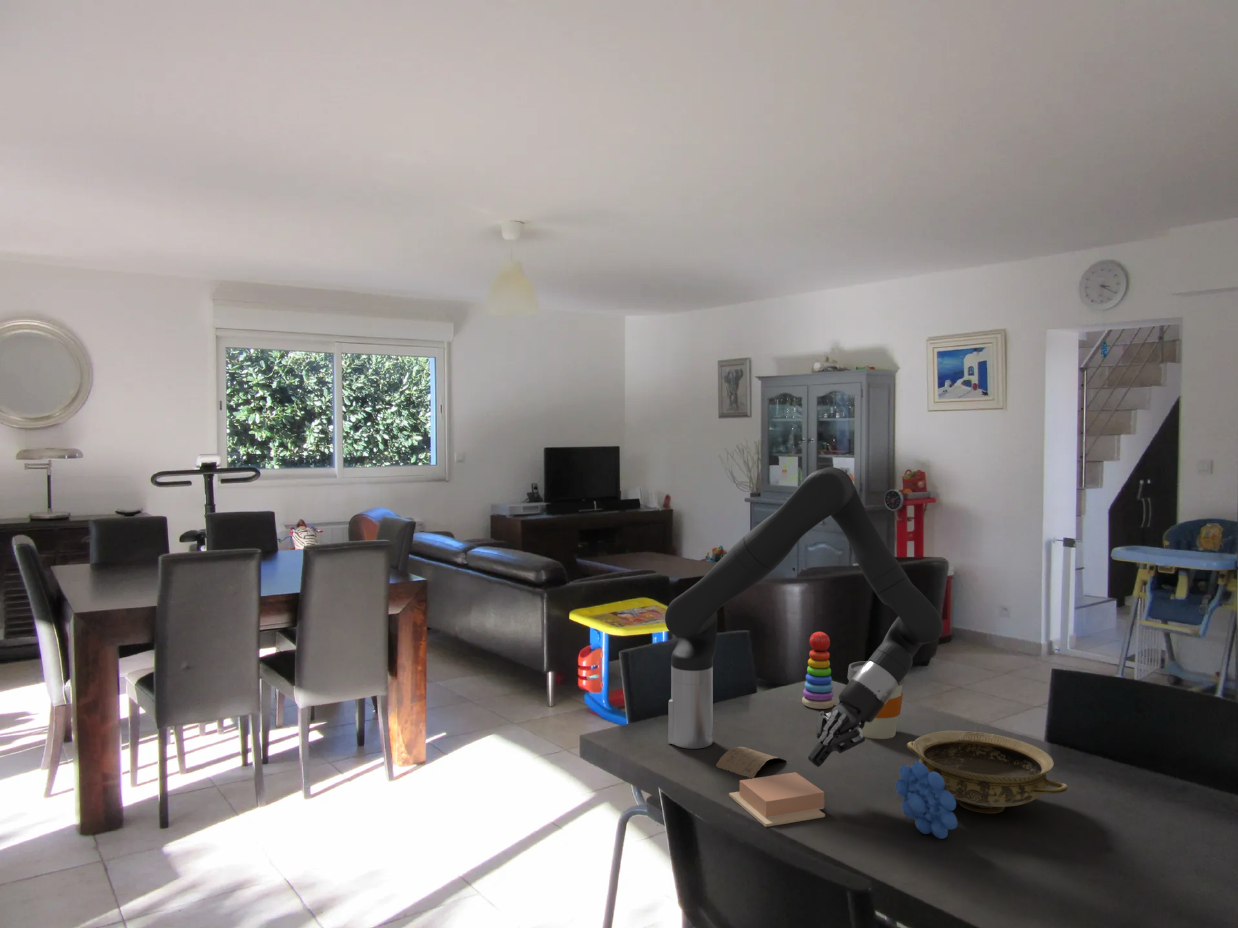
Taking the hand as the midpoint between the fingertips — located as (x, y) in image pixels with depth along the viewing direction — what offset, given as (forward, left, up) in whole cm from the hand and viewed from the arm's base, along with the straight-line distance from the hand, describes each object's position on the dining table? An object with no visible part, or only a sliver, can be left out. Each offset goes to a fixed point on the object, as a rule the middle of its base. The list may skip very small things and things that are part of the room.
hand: (813, 762), depth 159 cm
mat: (-6, -5, -7) cm, 11 cm away
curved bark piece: (-15, +14, -8) cm, 22 cm away
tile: (-1, 0, -5) cm, 5 cm away
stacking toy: (-7, +59, -7) cm, 60 cm away
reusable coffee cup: (+8, +43, -7) cm, 45 cm away
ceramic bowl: (+29, +9, -7) cm, 32 cm away
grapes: (+19, -8, -7) cm, 22 cm away
